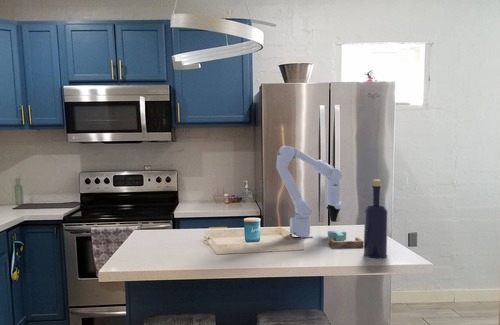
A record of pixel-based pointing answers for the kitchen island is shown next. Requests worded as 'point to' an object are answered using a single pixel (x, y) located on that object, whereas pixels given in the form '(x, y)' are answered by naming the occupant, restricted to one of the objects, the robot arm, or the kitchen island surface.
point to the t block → (337, 235)
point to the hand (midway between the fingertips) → (333, 221)
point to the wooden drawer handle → (346, 243)
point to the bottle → (375, 226)
